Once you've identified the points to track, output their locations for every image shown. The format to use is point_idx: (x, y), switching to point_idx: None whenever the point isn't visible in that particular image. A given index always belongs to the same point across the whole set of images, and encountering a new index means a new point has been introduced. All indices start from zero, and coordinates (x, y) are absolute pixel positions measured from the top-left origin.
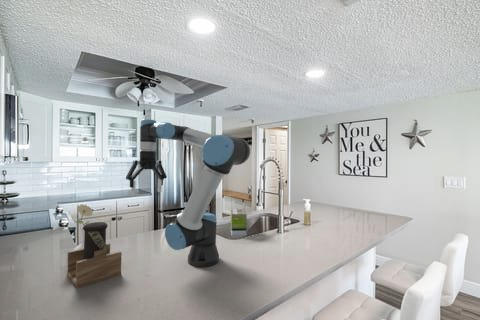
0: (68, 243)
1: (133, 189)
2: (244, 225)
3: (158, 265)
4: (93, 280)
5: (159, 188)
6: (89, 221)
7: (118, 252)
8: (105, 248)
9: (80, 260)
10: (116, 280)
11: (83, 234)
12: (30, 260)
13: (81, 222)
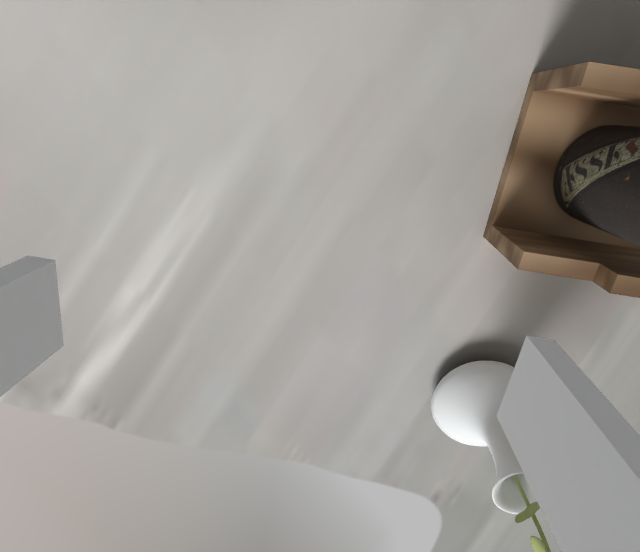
0: (446, 535)
1: (599, 409)
2: None
3: (362, 11)
4: None
5: (4, 313)
6: (528, 508)
7: (605, 66)
8: (637, 152)
9: (636, 256)
10: (586, 26)
11: None
12: None
13: (537, 538)
